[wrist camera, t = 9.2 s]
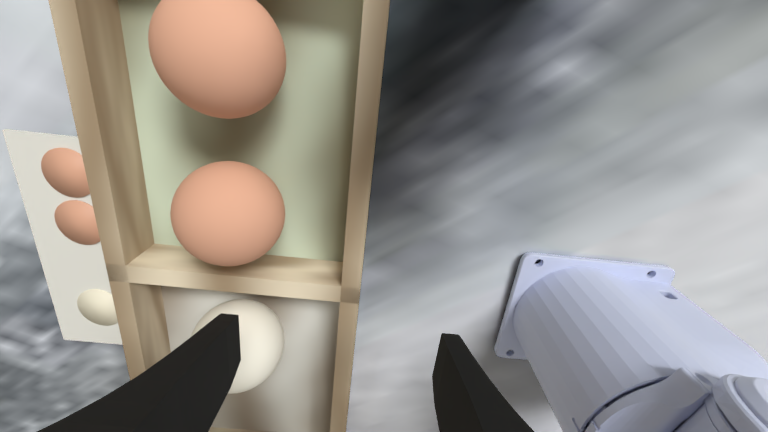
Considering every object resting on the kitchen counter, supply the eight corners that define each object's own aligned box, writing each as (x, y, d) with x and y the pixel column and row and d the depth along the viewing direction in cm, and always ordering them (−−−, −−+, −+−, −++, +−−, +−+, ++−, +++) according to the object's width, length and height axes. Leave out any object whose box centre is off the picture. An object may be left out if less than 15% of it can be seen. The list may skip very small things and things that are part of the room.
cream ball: (294, 286, 22) (269, 345, 17) (292, 350, 24) (270, 419, 19) (210, 278, 21) (162, 336, 17) (215, 343, 23) (174, 411, 19)
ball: (299, 1, 16) (264, -25, 11) (297, 116, 18) (266, 134, 13) (184, -13, 16) (101, -46, 11) (195, 105, 18) (127, 119, 13)
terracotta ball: (296, 156, 19) (267, 185, 14) (294, 242, 21) (268, 292, 16) (198, 145, 18) (136, 171, 14) (205, 233, 20) (153, 281, 16)
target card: (123, 141, 19) (118, 143, 19) (157, 344, 25) (153, 348, 24) (7, 128, 19) (0, 130, 19) (67, 336, 24) (62, 340, 24)
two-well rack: (393, -34, 16) (395, -59, 13) (345, 433, 28) (340, 481, 25) (98, -74, 16) (24, -110, 12) (176, 420, 28) (149, 467, 24)
